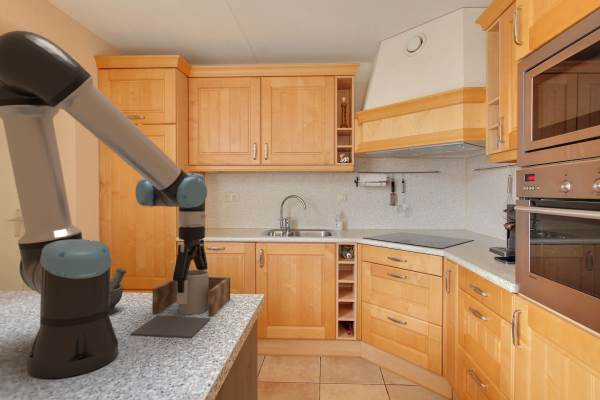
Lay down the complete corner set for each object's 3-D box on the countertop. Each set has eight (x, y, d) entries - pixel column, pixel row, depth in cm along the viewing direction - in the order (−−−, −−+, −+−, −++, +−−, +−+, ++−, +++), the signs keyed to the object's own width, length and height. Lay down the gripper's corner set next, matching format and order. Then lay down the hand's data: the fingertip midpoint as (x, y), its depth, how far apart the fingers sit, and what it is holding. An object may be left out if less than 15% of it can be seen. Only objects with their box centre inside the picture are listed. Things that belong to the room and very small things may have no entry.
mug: (213, 310, 103) (214, 273, 103) (187, 316, 96) (187, 277, 97) (193, 301, 111) (194, 267, 111) (167, 307, 105) (168, 270, 105)
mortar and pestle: (92, 320, 92) (93, 275, 92) (76, 313, 98) (77, 270, 98) (133, 310, 101) (134, 268, 101) (117, 304, 107) (117, 265, 107)
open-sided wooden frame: (212, 316, 97) (212, 291, 97) (152, 313, 98) (152, 289, 98) (230, 298, 115) (230, 277, 115) (178, 296, 116) (179, 275, 116)
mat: (191, 338, 82) (191, 336, 82) (130, 335, 83) (130, 333, 83) (210, 319, 95) (210, 317, 95) (157, 317, 96) (157, 315, 96)
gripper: (187, 229, 91) (186, 310, 91) (217, 222, 116) (217, 286, 116) (159, 229, 92) (159, 309, 92) (195, 222, 117) (195, 286, 117)
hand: (191, 297), depth 104 cm, fingers open, 13 cm apart
